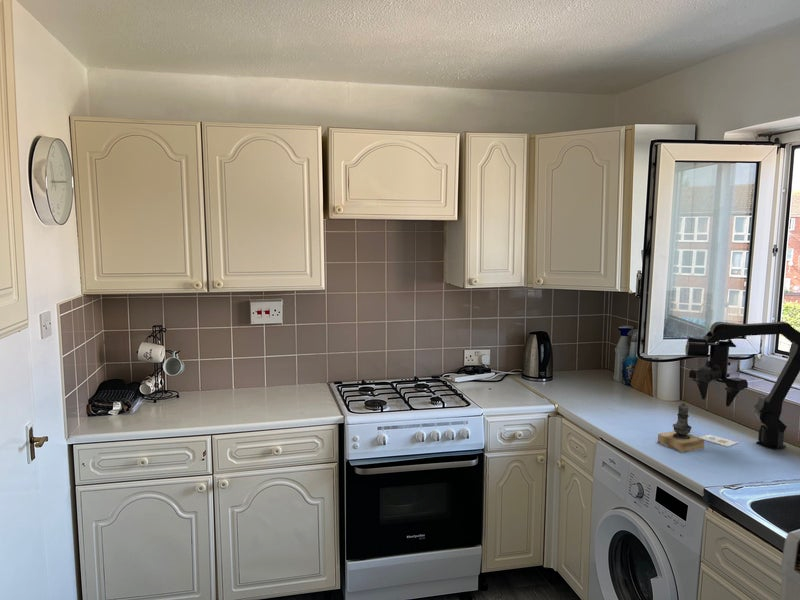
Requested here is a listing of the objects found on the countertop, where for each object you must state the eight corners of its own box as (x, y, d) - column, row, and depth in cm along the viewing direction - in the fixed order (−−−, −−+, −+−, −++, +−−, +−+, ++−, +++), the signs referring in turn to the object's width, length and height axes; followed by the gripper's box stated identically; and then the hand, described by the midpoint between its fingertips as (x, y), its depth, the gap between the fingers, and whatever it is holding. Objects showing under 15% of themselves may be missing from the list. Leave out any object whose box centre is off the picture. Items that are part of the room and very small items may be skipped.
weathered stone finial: (670, 432, 199) (673, 398, 198) (689, 434, 197) (692, 400, 196) (673, 438, 193) (675, 403, 192) (692, 440, 192) (695, 405, 190)
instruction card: (738, 443, 198) (738, 442, 198) (727, 447, 194) (727, 446, 194) (708, 434, 206) (708, 433, 206) (698, 438, 202) (698, 437, 202)
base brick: (703, 448, 193) (704, 439, 193) (682, 452, 189) (683, 443, 189) (678, 438, 202) (678, 430, 202) (657, 442, 198) (658, 433, 198)
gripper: (679, 355, 204) (676, 398, 206) (728, 366, 187) (724, 412, 189) (700, 353, 209) (697, 395, 210) (750, 363, 192) (747, 409, 194)
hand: (715, 402), depth 201 cm, fingers open, 9 cm apart
